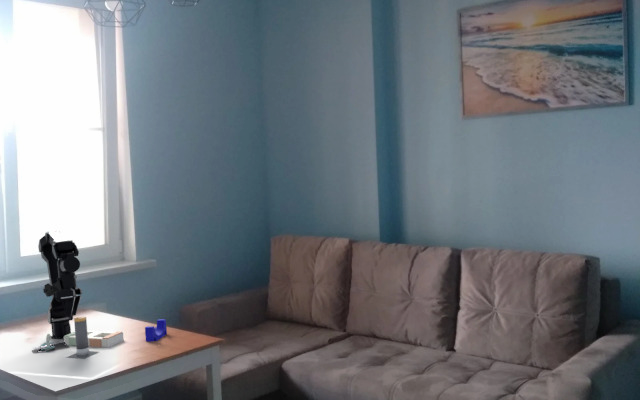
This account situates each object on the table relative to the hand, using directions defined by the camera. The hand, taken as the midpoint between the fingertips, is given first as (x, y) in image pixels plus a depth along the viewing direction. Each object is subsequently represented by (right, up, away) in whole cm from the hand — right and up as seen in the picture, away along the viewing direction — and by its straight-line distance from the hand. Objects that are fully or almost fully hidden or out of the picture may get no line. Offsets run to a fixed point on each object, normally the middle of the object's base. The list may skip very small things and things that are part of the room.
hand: (71, 316), depth 246 cm
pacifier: (-9, -13, -1) cm, 16 cm away
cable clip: (+28, -10, +9) cm, 31 cm away
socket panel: (+6, -11, +6) cm, 14 cm away
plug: (+8, -12, -10) cm, 17 cm away
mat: (+8, -12, -10) cm, 18 cm away
